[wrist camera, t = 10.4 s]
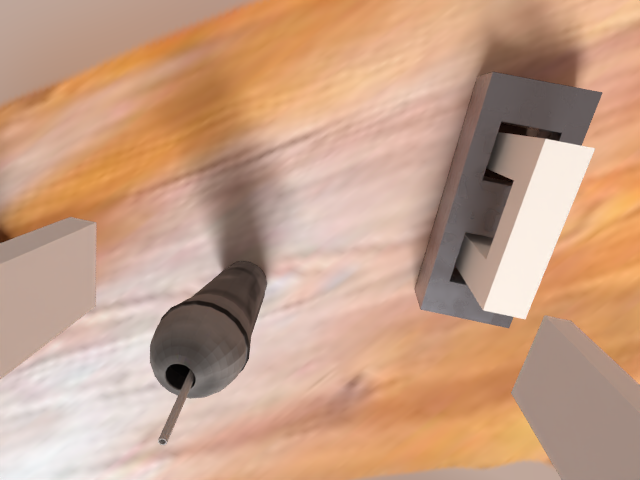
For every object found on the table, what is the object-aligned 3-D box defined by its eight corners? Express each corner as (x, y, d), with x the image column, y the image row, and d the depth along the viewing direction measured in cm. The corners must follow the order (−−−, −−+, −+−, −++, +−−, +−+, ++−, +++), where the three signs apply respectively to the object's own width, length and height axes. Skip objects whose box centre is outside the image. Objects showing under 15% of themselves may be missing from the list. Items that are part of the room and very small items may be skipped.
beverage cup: (234, 234, 39) (113, 350, 20) (293, 275, 40) (232, 425, 21) (199, 286, 41) (60, 436, 22) (256, 325, 42) (169, 500, 23)
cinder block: (414, 290, 39) (420, 309, 35) (477, 76, 32) (492, 71, 28) (494, 306, 38) (508, 328, 35) (573, 94, 32) (602, 92, 28)
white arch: (481, 264, 37) (525, 319, 27) (450, 258, 37) (483, 310, 27) (525, 137, 33) (595, 148, 23) (491, 131, 33) (545, 138, 24)
